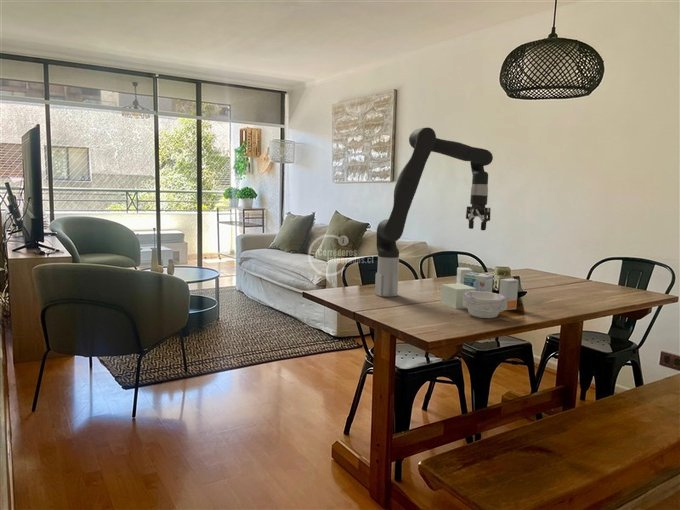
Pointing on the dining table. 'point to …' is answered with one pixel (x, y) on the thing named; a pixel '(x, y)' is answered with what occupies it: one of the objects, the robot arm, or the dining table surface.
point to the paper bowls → (484, 304)
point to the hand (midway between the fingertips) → (477, 229)
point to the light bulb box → (479, 281)
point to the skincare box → (509, 292)
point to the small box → (462, 274)
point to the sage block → (454, 294)
